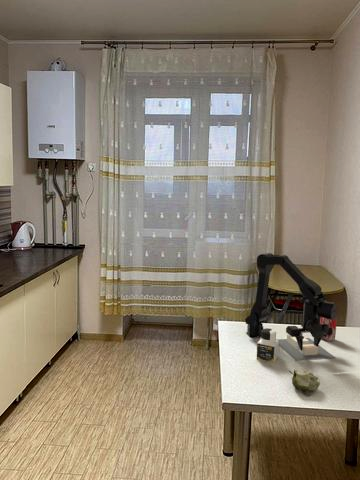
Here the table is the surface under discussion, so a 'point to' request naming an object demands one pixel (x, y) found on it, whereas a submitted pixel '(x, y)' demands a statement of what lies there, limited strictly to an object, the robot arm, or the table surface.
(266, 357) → the medicine bottle
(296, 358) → the mat
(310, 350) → the stub
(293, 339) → the ticket
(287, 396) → the table surface
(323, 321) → the soda can
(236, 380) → the table surface
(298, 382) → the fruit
